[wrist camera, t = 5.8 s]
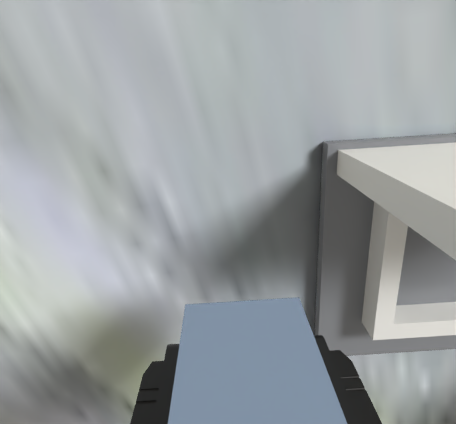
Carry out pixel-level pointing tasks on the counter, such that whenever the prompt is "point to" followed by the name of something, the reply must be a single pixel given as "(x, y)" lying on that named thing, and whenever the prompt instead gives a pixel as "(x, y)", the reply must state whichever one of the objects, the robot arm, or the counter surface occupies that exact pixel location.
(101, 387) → the counter surface
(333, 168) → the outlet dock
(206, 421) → the block
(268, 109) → the counter surface
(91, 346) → the counter surface
